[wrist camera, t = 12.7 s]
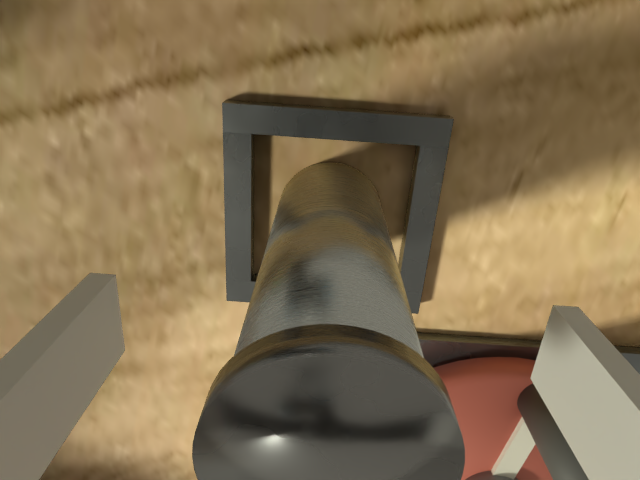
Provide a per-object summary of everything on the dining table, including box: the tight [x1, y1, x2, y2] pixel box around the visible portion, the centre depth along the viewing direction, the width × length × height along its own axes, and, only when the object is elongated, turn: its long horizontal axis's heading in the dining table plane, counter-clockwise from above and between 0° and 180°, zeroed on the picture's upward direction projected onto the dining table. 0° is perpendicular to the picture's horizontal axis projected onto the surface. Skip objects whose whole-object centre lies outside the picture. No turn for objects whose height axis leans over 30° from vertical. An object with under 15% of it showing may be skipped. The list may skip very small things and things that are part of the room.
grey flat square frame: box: [222, 100, 454, 314], centre depth 22 cm, size 10×10×1 cm
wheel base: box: [417, 333, 640, 374], centre depth 28 cm, size 17×17×1 cm
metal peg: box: [192, 162, 465, 480], centre depth 16 cm, size 5×5×14 cm
